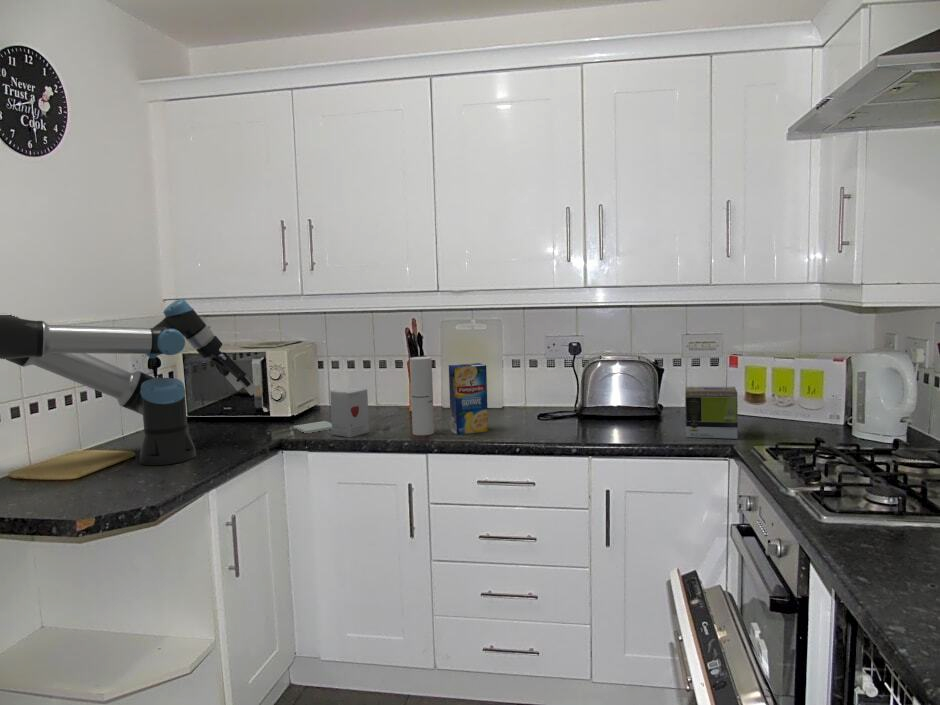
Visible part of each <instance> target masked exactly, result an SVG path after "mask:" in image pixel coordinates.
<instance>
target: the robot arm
mask: <svg viewBox="0 0 940 705" xmlns="http://www.w3.org/2000/svg"><path fill="white" fill-rule="evenodd" d="M163 314H164V316H165V317H164V318H163V319H162V320H161V321H160V322H159V323H157V324H156V325H154V326H153V327H152V328H151V327H129V326H127V327H123V326H94V325H91V326H90V325H64V324H63V325H62V324H61V325H59V324H47V323H46V321H44V320H33V319H31V320H30V319H25V318H20V317H19V316H16V315H14V316H12V315H13V314H10V315H0V359H1V360H5V359H6V361H8V362H11V363H13V364H16V365H17V366H21V367H23V368H25V367H27V366H35V367H38V368H40V369H43V370H45V371H48V372H50V373H53V374H55V375H58V376H60V377H63V378H65V379H67V380H70V381H73V382H75V383H77V384H79V385H82V386H84V387H87V388H90V389H92V390H95V391H96V392H100V393H102V394H103V395H104V394H105V395H107V396H109V397H111V398H113V399H117V402H118V405H119V406H120V407H122V408H124V409H127V410H130V411H132V412H136V413H138V414H139V415H142V420H143V421H142V422H143V435H144V436H143V441H142V444H141V448H140V451H139V463H140V464H142V465H145V466H146V465H147V466H163V465H166V466H167V465H172V464H177V463H179V464H180V463H183V462H186V461H189V460H192V459H194V458H195V457H196V456H197V454H196V446H195V444H194V442H193V440H192V437H191V435H190V433H189V430H188V417H187V416H188V415H187V404H186V388H185V384H184V382H183V381H182V380H180V379H178V378H175V377H174V378H172V377H154V376H152V375H149V374H148V373H145V372H142V371H140V370H136V371H134V372H129V371H127V370H126V369H123V368H120V367H118V366H116V365H113V364H111V363H109V362H106V361H104V360H102V359H99V358H97V357H95V356H92V355H90V354H121V355H122V354H123V355H124V354H125V355H127V354H131V355H133V354H135V355H137V354H140V355H142V354H143V355H146V356H147V357H148V358H149V359H155V358H157V357H158V356H161V355H167V356H174V355H178V354H179V353H181V352H182V351H183V350H184V348H185V347H186V346H185V345H186V341H187V342H188V343H189V344H190V345H191V346H192V348H194V349H196V352H197V353H198V354H199V356H201V357H202V358H203V359H207V358H209V359H210V361H211V362H212V363H213V365H214V367H215V368H216V369H217V371H218V372H219V374H220V375H222V376H224V377H225V378H226V380H227V381H228V382H229V383H230V384H231V385H232V387H234V389H235V390H236V391H237V392H239V391H240V390H241V389H243V388H244V390H246V392H247V393H248V394H249V395H250V396H253V395H254V394H256V392H257V391H258V389H257V387H256V386H255V385H254V384H253V383H252V382H251V380H250V379H249V378H248V377H247V373H246V371H244V370H243V369H242V368H241V367H240V366H239V365H238V364H236V363H235V362H234V361H233V359H231V358H230V356H229V355H228V354H227V353H226V352H224V351H223V352H222V351H220V349H221V347H223V342H222V341H221V340H220V339H219V338H218V337H217V336H216V335H215V334H214V332H213V331H212V330H211V326H210V325H207V324H206V323H205V322H204V320H203V319H202V318H201V317H200V315H198V313H197V312H196V311H195V309H194V308H193V307H192V306H191V305H190V304H189V303H188V302H187V301H186V300H185V299H182V298H181V299H177V300H175V301H173V302H171V304H169V305H168V306H167V307H165V308H164V310H163ZM15 316H16V317H15Z"/></svg>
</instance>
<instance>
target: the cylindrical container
mask: <svg viewBox="0 0 940 705" xmlns="http://www.w3.org/2000/svg"><path fill="white" fill-rule="evenodd" d="M432 360H433V359H432V357H431V356H414V357H410V358H409V371H410V372H409V373H410V375H409V377H410V378H409V379H410V395H411V396H410V402H411V425H412V435H415V436H430V435H433V434H435V417H434V416H435V414H434V390H433V389H434V388H433V365H432V364H433V362H432Z"/></svg>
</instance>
